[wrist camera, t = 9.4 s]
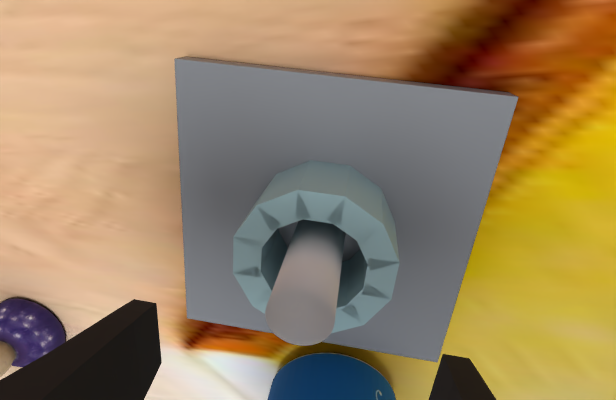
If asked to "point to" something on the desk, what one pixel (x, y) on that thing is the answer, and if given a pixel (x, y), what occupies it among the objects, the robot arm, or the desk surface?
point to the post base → (340, 150)
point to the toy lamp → (26, 333)
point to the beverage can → (329, 379)
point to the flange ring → (330, 209)
